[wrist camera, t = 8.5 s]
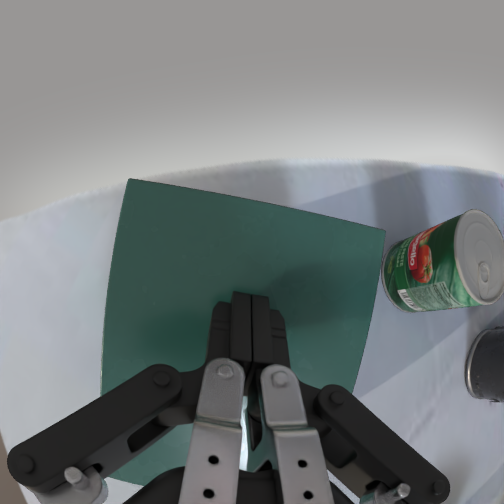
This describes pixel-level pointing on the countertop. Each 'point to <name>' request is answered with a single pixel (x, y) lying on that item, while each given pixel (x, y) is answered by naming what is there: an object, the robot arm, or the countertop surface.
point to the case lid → (221, 287)
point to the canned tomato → (447, 265)
